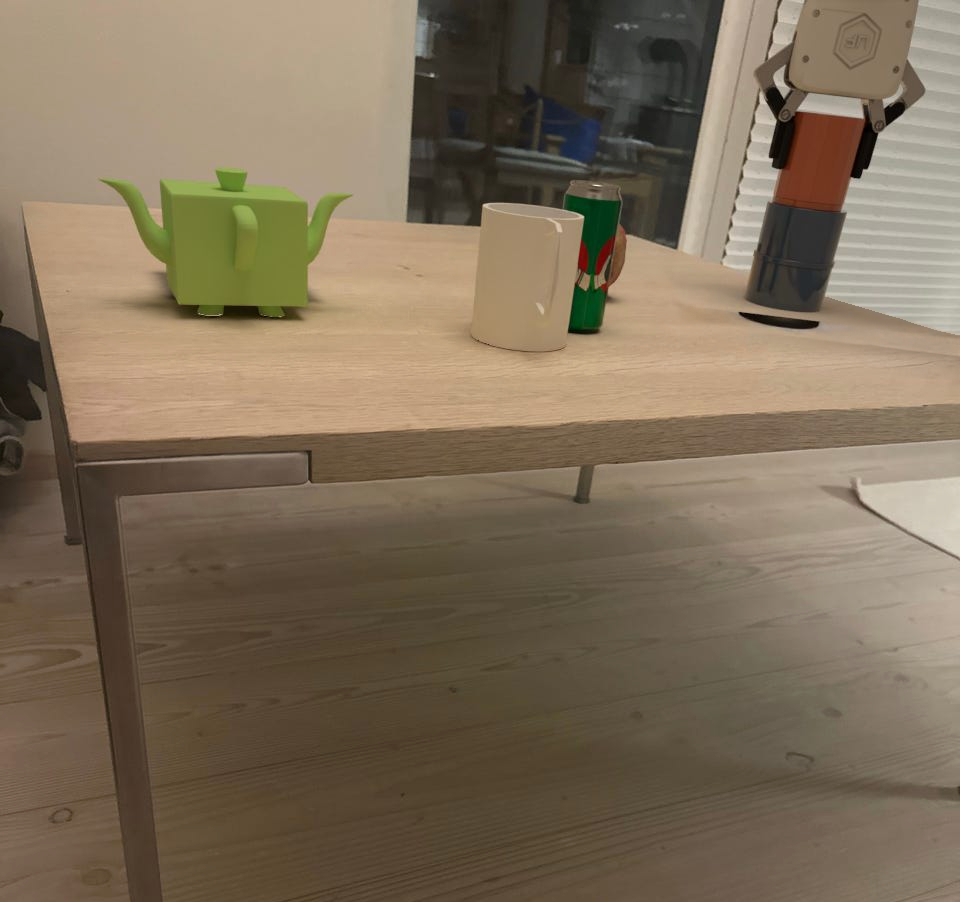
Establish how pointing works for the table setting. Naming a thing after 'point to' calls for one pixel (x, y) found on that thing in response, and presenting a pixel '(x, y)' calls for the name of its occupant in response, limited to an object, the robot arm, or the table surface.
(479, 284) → the cup
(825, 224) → the cup stack
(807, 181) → the terracotta cup
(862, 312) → the table surface
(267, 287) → the teapot
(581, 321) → the soda can
